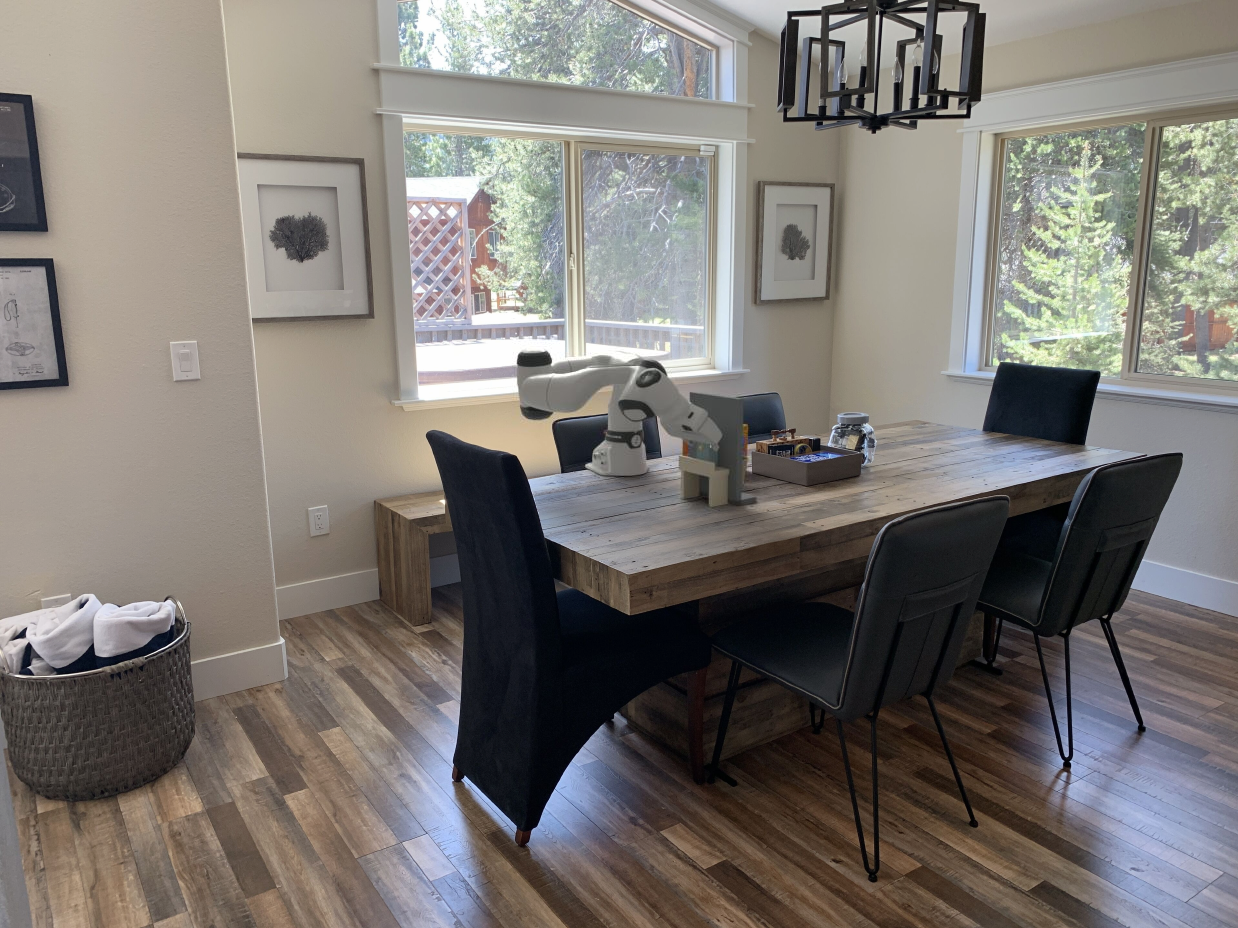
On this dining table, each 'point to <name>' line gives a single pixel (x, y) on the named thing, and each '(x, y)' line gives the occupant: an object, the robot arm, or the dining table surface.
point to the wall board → (727, 477)
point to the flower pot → (744, 467)
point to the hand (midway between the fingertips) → (704, 446)
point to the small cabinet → (707, 453)
